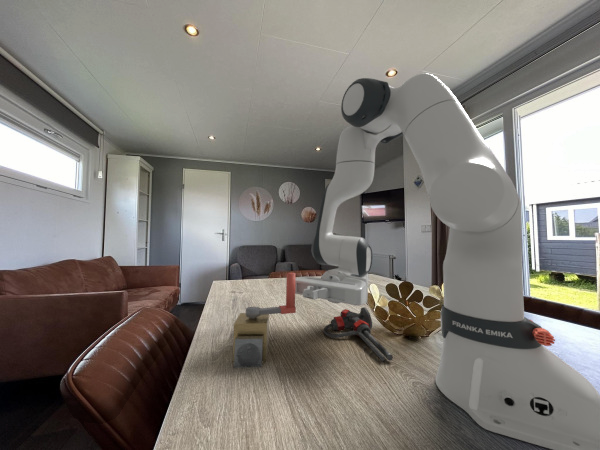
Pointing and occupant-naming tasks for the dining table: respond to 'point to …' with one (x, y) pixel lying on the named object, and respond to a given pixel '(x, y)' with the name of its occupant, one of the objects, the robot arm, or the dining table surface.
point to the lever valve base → (250, 341)
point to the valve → (357, 329)
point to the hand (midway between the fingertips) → (308, 294)
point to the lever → (285, 309)
